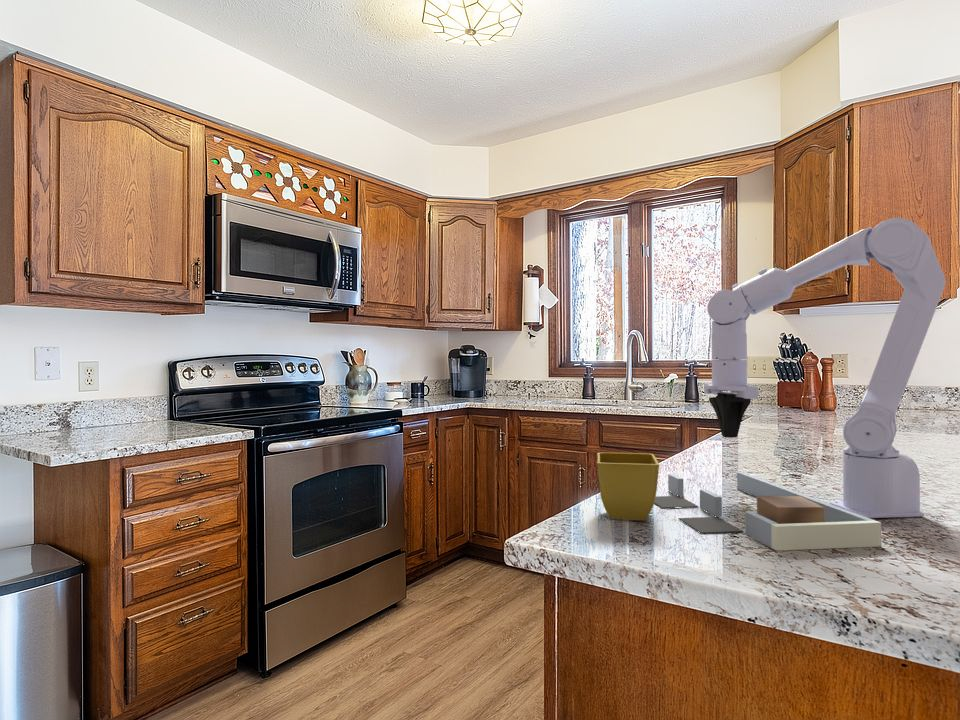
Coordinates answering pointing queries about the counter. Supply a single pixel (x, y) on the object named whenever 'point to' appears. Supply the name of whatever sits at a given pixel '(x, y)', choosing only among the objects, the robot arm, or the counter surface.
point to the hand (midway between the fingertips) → (729, 437)
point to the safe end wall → (825, 535)
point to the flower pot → (627, 484)
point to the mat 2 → (710, 525)
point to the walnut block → (789, 509)
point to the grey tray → (756, 487)
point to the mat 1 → (672, 502)
